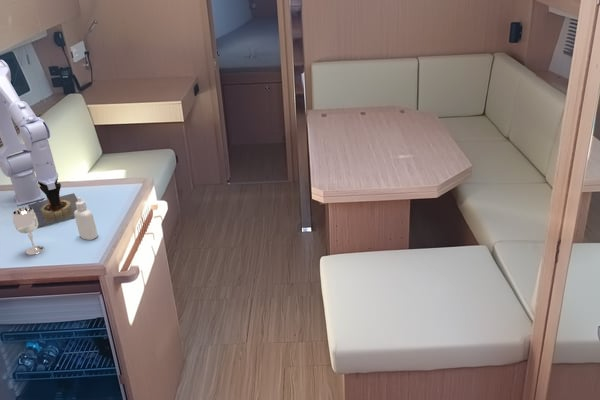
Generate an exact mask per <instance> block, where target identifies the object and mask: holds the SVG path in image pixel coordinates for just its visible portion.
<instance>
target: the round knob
mask: <svg viewBox="0 0 600 400" xmlns="http://www.w3.org/2000/svg"><path fill="white" fill-rule="evenodd" d="M45 197H46V200H48V198H47V196H46V195H45ZM60 197H61V196H60V194H59V198H60ZM48 204H49V208H50V210H58V209H61V208H62V203H61V199H60V205H59V206H56V207H52V206H51V204H50V202H49V200H48Z"/></svg>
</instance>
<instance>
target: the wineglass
mask: <svg viewBox="0 0 600 400" xmlns="http://www.w3.org/2000/svg"><path fill="white" fill-rule="evenodd" d="M12 220H13V225H14V228H15V229H16V231H17V232H19V233H20V234H28V239H29V240H30V241H31V246H32V247H30V248H28V249H27V250H26V251H25V253H26V255H30V256H31V255H38V254H40V253H41V252H43V251H44V250H45V248H44V246H42V245H35V243H34V239H33V237H34V236H33V232H36V230H37V229H38V228H37V227H38V225H39V222H38V218H37V215H36V214H35V212H34V210H33V209H32V208H31V207H29V206H22V207H20V208H17V209H15V210H14V211H12Z"/></svg>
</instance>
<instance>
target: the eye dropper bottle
mask: <svg viewBox="0 0 600 400" xmlns="http://www.w3.org/2000/svg"><path fill="white" fill-rule="evenodd" d="M77 199H78V202H76V207H77V210H76V211H75V212H74V216H75V218H74V219H75V223H76V227H77V230H78V234H79V236H80V238H81V239H83V240H87V241H88V240H89V241H90V240H91V241H92V240H95V239H96V238H97V237H98V236H99V234H98V231H97V226H96V222H95V219H94V215H93V212H92V211H91V210H90V209H89V208H87V204H86V201H85V200H83V199H82V198H81V197H80V196H78V197H77Z"/></svg>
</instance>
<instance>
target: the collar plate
mask: <svg viewBox="0 0 600 400" xmlns="http://www.w3.org/2000/svg"><path fill="white" fill-rule="evenodd" d="M60 199H61V203H62V208H61V209H58V210H50V208H49V204H48V200H47V199H46V200H40V201H36V202H34V203H33V202H32V203H28V205H27V207H31V208H32V209H33V210H34V212H35V214H36V215H37V218H38V222H39V225H38V227H37V229H39V228H40V229H41V228H44V227H47V226H50V225H54V224H58V223H61V222H65V221H70V220H73V219H75V216H74V212H75V211H76V210H77V207H76V202H78V197H77V195H76V194H75V193H74V192H73V193H68V194H66V195H61V196H60Z"/></svg>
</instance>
